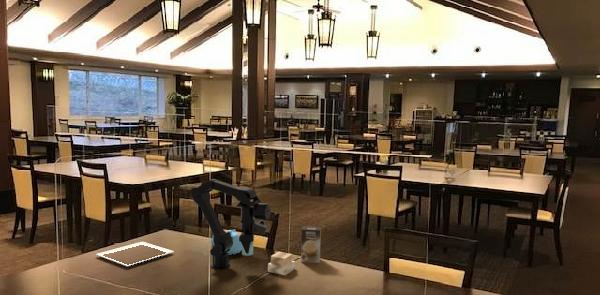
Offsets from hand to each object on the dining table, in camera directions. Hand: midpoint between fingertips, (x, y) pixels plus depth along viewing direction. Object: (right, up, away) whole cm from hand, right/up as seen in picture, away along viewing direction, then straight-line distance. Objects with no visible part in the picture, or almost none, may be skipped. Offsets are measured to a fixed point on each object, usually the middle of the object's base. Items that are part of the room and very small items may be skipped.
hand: (247, 251), depth 200 cm
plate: (-57, -7, +19) cm, 61 cm away
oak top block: (+15, -6, +2) cm, 16 cm away
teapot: (-12, -7, +28) cm, 31 cm away
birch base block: (+15, -10, +2) cm, 18 cm away
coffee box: (+28, -8, +16) cm, 33 cm away
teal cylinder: (0, -1, 0) cm, 1 cm away
